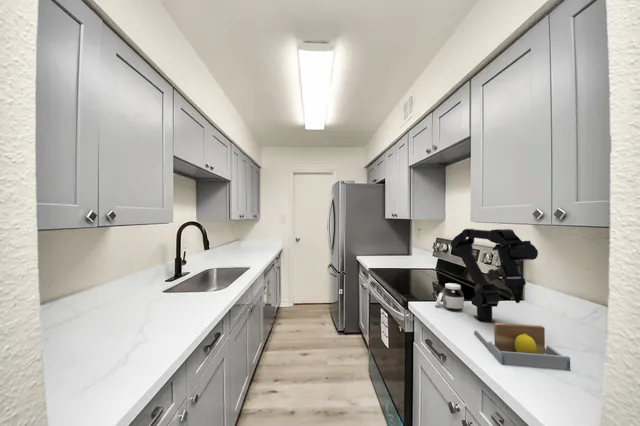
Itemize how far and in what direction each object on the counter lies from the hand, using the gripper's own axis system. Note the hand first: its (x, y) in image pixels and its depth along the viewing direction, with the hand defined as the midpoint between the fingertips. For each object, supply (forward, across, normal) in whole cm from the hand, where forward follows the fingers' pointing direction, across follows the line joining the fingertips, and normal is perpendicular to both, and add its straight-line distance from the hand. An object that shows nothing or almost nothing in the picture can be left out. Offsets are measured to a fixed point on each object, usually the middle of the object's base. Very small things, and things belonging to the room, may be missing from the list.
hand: (517, 302), depth 100 cm
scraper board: (+14, +14, -3) cm, 20 cm away
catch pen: (+14, +12, -4) cm, 19 cm away
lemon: (+15, +17, -2) cm, 23 cm away
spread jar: (+6, -20, -27) cm, 35 cm away
